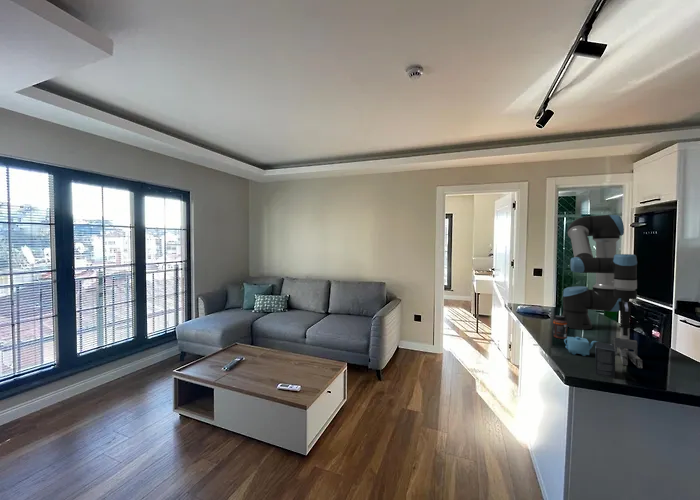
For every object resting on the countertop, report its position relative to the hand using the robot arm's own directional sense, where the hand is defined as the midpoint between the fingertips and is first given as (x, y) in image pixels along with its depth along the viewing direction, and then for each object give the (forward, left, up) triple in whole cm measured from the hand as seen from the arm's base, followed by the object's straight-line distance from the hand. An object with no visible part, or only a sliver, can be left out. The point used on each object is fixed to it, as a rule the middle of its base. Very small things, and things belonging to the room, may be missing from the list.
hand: (624, 342), depth 131 cm
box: (+29, -8, -6) cm, 31 cm away
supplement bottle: (-12, -24, -6) cm, 27 cm away
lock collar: (+2, 0, -5) cm, 6 cm away
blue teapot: (+10, -16, -6) cm, 19 cm away
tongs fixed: (+9, -1, -5) cm, 10 cm away
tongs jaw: (+11, +2, -5) cm, 12 cm away
